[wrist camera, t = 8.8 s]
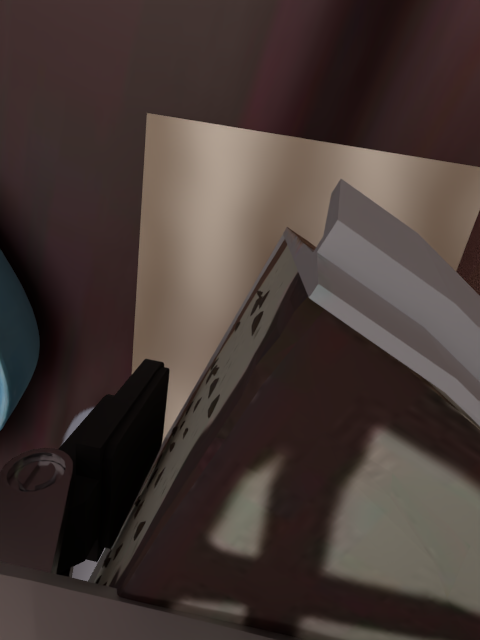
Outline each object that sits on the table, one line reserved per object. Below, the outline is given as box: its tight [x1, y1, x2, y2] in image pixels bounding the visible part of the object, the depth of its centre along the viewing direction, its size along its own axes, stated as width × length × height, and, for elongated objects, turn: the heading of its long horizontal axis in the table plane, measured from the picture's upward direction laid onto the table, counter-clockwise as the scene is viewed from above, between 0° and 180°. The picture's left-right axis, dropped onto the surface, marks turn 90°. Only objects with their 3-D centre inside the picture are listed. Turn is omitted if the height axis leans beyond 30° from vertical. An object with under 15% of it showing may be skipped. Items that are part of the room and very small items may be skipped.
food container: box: [88, 179, 480, 640], centre depth 9 cm, size 12×6×10 cm, turn 151°
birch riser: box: [132, 113, 480, 443], centre depth 20 cm, size 14×17×4 cm
